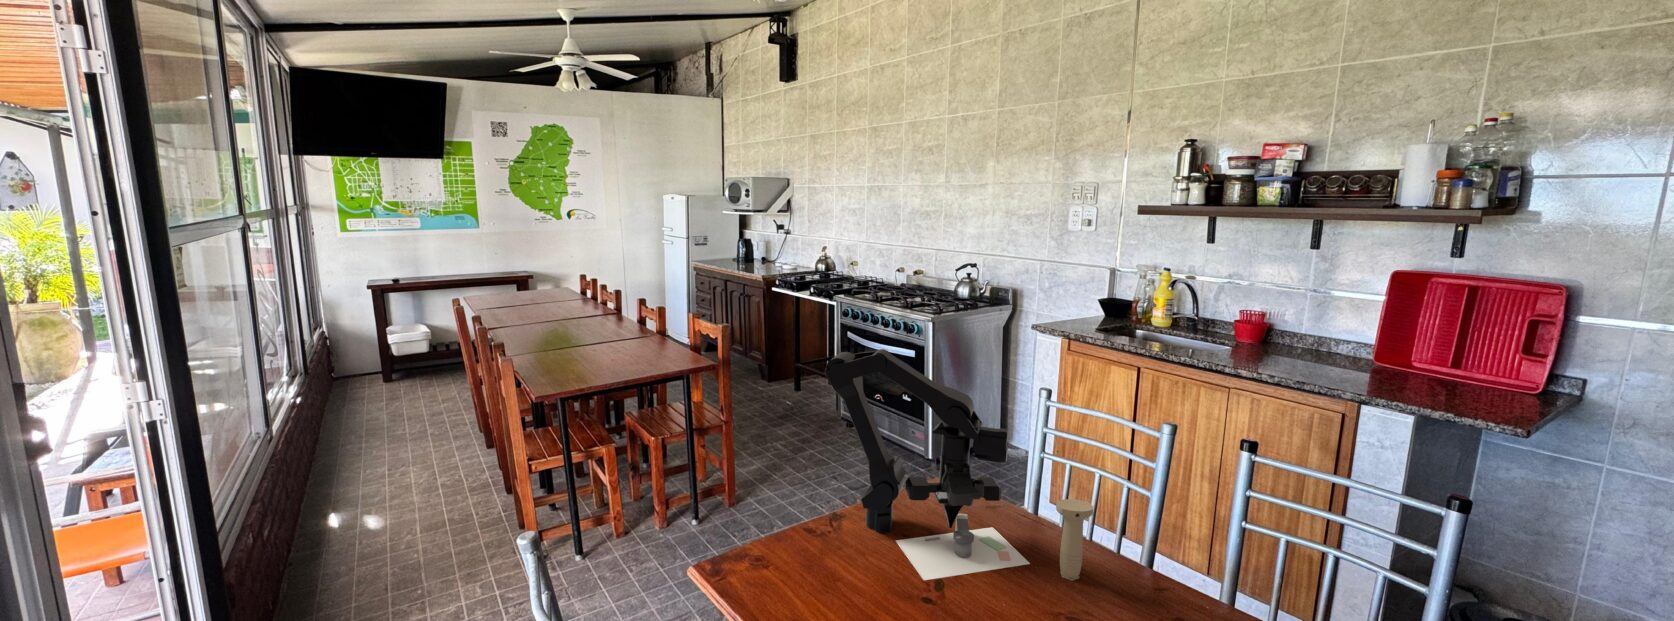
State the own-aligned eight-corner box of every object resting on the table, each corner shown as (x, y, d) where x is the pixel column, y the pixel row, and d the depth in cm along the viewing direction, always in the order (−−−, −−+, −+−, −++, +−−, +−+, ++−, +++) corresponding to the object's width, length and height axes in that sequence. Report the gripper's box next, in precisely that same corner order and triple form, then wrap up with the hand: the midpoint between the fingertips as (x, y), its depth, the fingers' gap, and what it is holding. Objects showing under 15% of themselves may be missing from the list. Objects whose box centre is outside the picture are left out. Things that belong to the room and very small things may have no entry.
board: (895, 545, 141) (895, 539, 141) (992, 531, 147) (992, 526, 147) (923, 585, 127) (923, 579, 127) (1029, 568, 133) (1030, 562, 133)
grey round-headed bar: (974, 559, 134) (974, 540, 133) (953, 557, 134) (953, 539, 133) (970, 531, 144) (971, 514, 144) (951, 530, 145) (952, 513, 144)
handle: (1090, 588, 126) (1096, 512, 124) (1054, 586, 127) (1059, 510, 124) (1083, 574, 131) (1089, 500, 128) (1049, 572, 131) (1053, 498, 129)
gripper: (916, 471, 131) (912, 547, 134) (1012, 472, 133) (1006, 547, 135) (907, 449, 142) (903, 520, 145) (995, 450, 144) (990, 520, 146)
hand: (950, 527), depth 143 cm, fingers closed
